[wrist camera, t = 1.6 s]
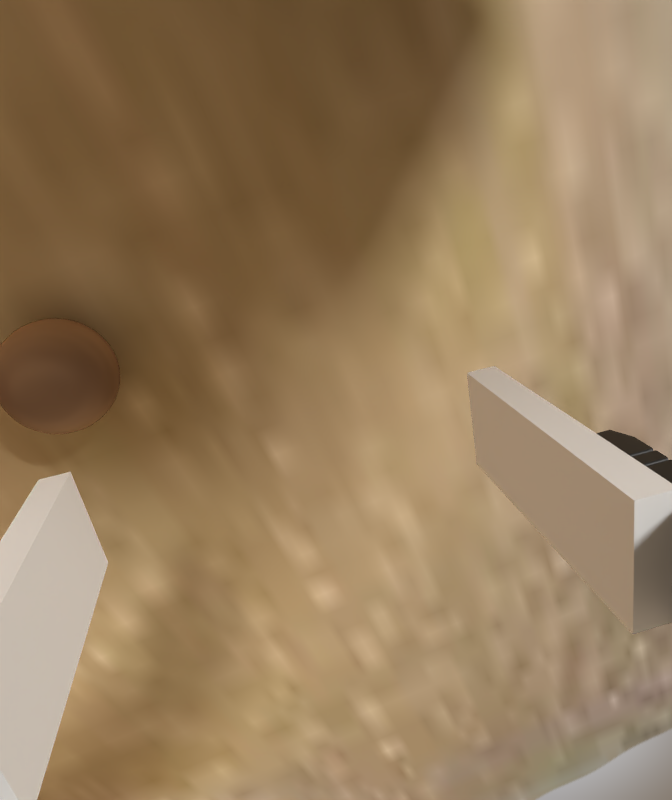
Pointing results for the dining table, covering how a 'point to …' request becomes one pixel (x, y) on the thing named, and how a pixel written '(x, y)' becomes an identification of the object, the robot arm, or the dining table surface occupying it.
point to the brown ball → (57, 376)
